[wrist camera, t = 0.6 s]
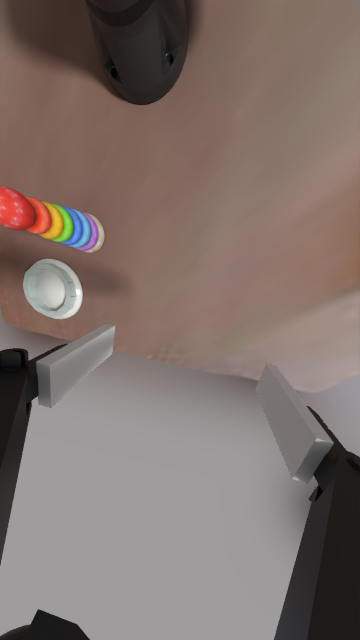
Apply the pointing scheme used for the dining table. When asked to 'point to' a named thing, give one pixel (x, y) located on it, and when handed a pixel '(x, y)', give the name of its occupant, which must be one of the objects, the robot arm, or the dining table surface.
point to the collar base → (53, 289)
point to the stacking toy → (50, 221)
